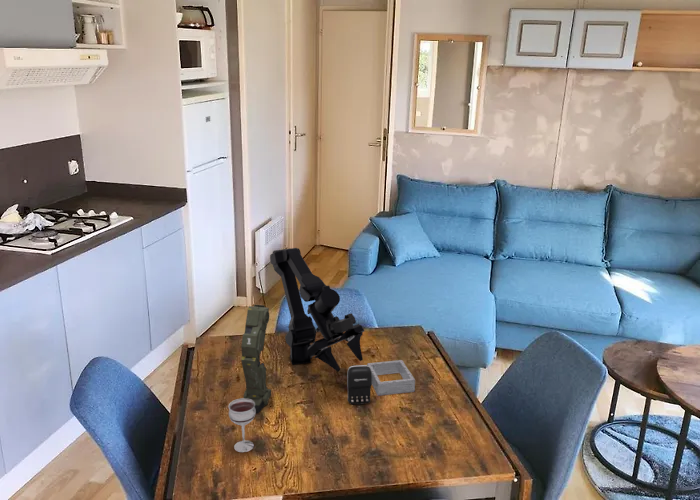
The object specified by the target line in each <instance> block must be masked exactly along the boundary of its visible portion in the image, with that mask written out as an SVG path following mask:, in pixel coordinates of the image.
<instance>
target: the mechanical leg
mask: <svg viewBox="0 0 700 500" xmlns="http://www.w3.org/2000/svg"><path fill="white" fill-rule="evenodd" d="M269 322H270V308H269V307H267V306H266V307H265V304H264V305H263V304H254V305H253V306H252V305H249V306H248V308H247V311H246V318H245V326H244V333H243V334H242V338H241V346H240V347H241V349H240V350H241V359H240V361H241V365H242V371H243V376H244V380H245V381H244V382H245V390H244V392H243V395H242V398H247V399H251V400H253V401H254V402H255V406H254V407H255V409H256V415H257V414H259V413H261V411H262V410H263V408H265V406H268V404H269V399H270V397H271V396H272V389H270V388H269V389H268V387H267V384H266V382H267V368H266V366H265V363H264V362H261V359H260V358H261V353H262V351H264V346H265V345H264V344H265V339H266V331H267V327H268V323H269Z"/></svg>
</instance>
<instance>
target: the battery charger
mask: <svg viewBox="0 0 700 500" xmlns="http://www.w3.org/2000/svg"><path fill="white" fill-rule="evenodd" d="M346 378H347V381H346V383H347V402H348V404H350V405H366V404H367V405H368V404H370V403H371V391H372V386H373V385H372V372H371V368H370V367H369V366H368V365H367V364H355V365H350V366H349V367H348V369H347V376H346Z"/></svg>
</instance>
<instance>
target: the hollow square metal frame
mask: <svg viewBox="0 0 700 500" xmlns="http://www.w3.org/2000/svg"><path fill="white" fill-rule="evenodd" d="M366 365H368V366H369V367H370V368H371V372H372V385H371V386H372V387H373V390H374V391H375V393H376V395H377V396H389V395H396V394H406V393H413V392H415V391H416V389H415V388H416V387H415V386H416V379H415V377H414V376H413V374H412V373H411V371H410V370H409V369H408V367H407V365H406V364H405V363H404V360H402V359H399V360H397V359H396V360H388V361H379V362H378V361H376V362H368V363H366ZM391 374H400V376H401V378H402V379H395V380H388V381H387V380H385V381H381V380H380V378H379V376H382V375H391Z"/></svg>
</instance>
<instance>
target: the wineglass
mask: <svg viewBox="0 0 700 500" xmlns="http://www.w3.org/2000/svg"><path fill="white" fill-rule="evenodd" d="M254 406H255V402H254V401H253V400H251V399H247V398H243V397H242V398H237V399H234V400H232V401H230V403H229V404H228V409H229V410H228V417H229V420H230V421H231V422H232V423H233V424H235V425H236V426H237V425H238V426H241V434H242V435H241V437H242V440H240V441H238V442H236V443H235V444H234V446H233V448H234V450H235V451H236V452H239V453H247V452H249V451H251V450H253V449H254V442H253V441H250V440H246V439H245V438H246V437H245V436H246V435H245V433H246V432H245V431H246V430H245V426H246V425H249V424H250V423H251V422H252V421H253V420H254V419H255V417H256V415H257V413H256V409H255V407H254Z"/></svg>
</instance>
